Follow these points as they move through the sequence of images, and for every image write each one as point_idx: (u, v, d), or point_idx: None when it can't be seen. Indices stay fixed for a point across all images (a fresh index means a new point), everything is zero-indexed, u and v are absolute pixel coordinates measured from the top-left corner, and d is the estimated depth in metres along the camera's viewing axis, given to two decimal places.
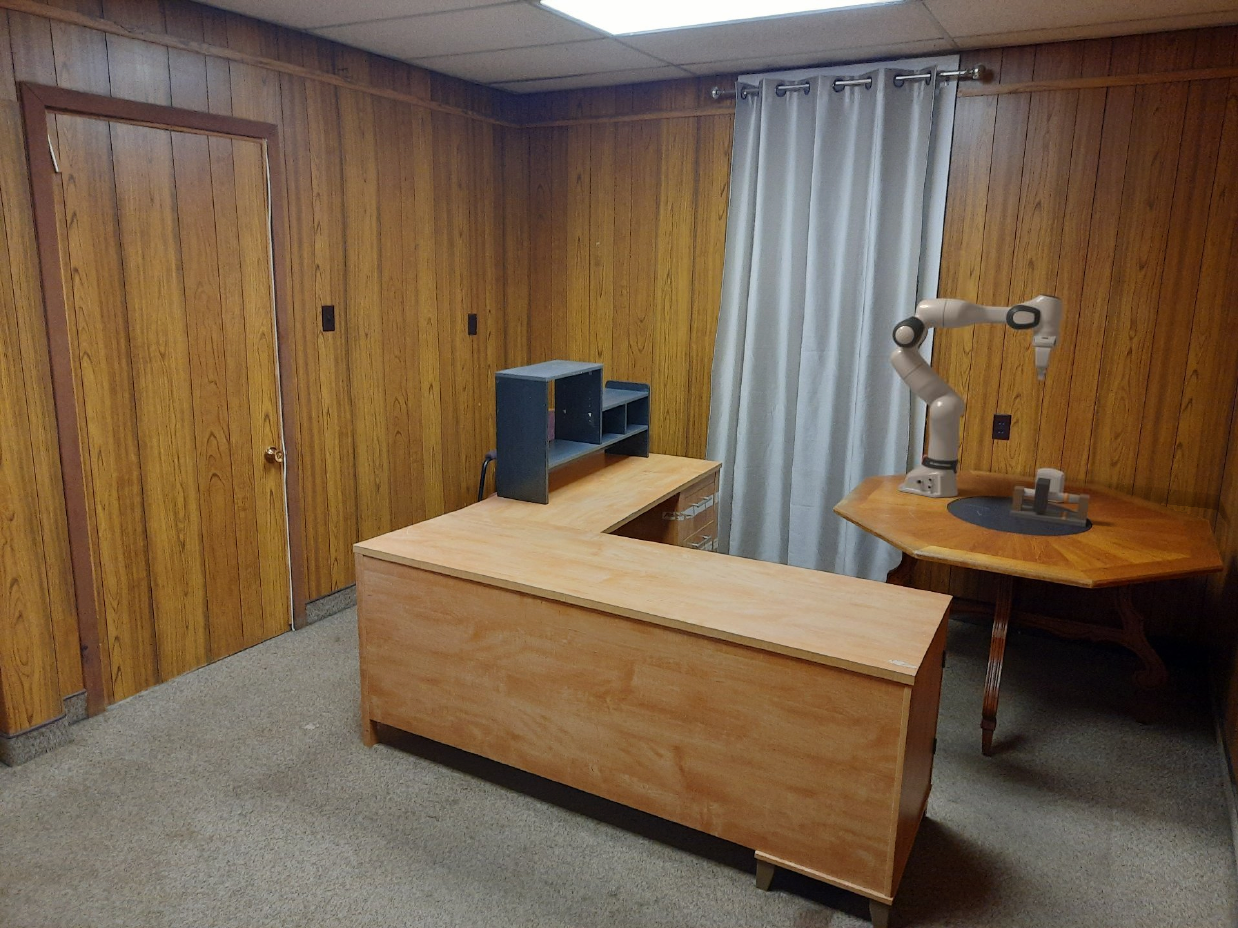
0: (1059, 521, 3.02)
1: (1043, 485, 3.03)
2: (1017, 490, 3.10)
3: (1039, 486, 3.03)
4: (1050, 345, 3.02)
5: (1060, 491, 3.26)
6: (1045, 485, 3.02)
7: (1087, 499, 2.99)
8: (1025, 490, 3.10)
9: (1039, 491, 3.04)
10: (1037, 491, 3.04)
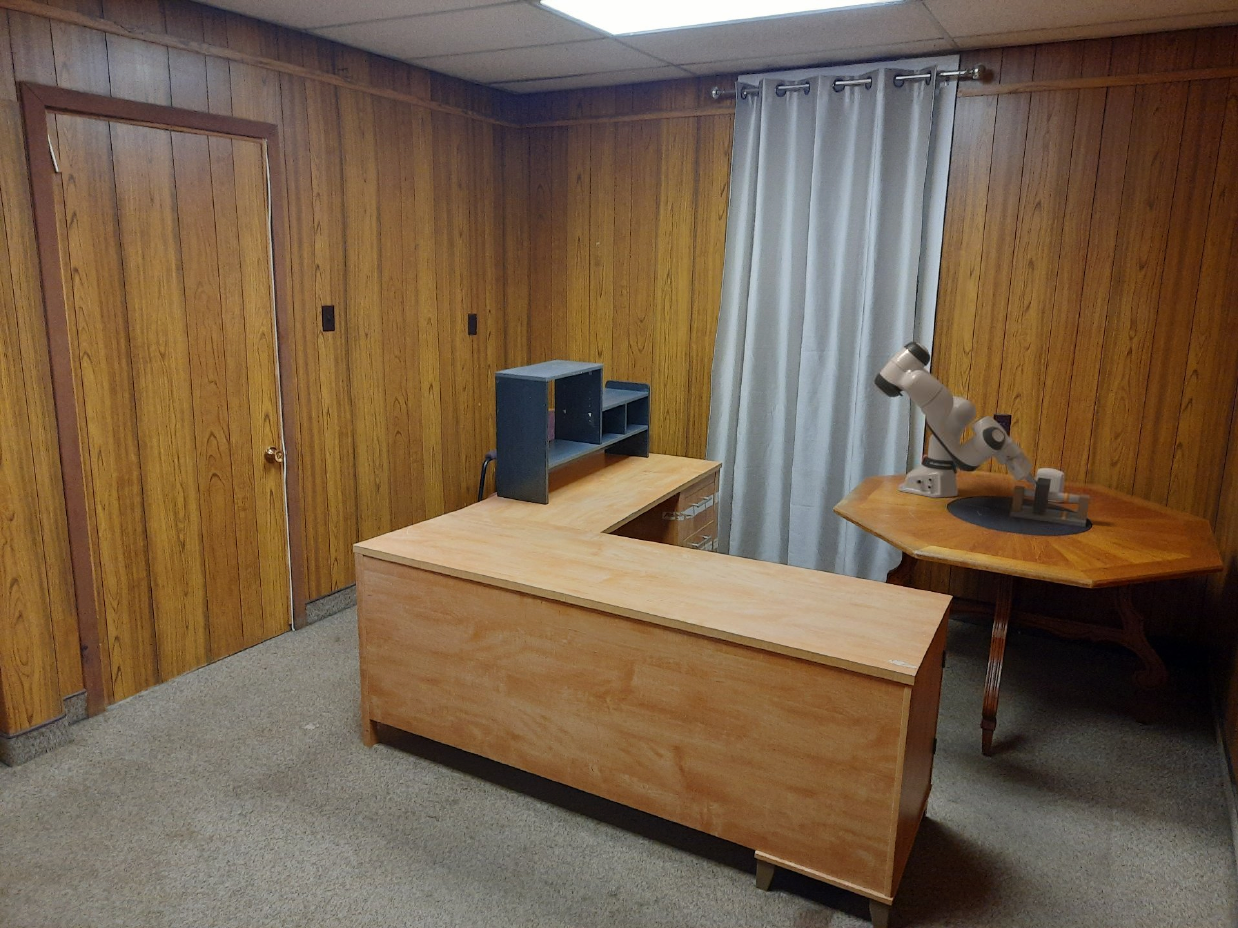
0: (1059, 521, 3.02)
1: (1043, 485, 3.03)
2: (1017, 490, 3.10)
3: (1039, 486, 3.03)
4: None
5: (1060, 491, 3.26)
6: (1045, 485, 3.02)
7: (1087, 499, 2.99)
8: (1025, 490, 3.10)
9: (1039, 491, 3.04)
10: (1037, 491, 3.04)
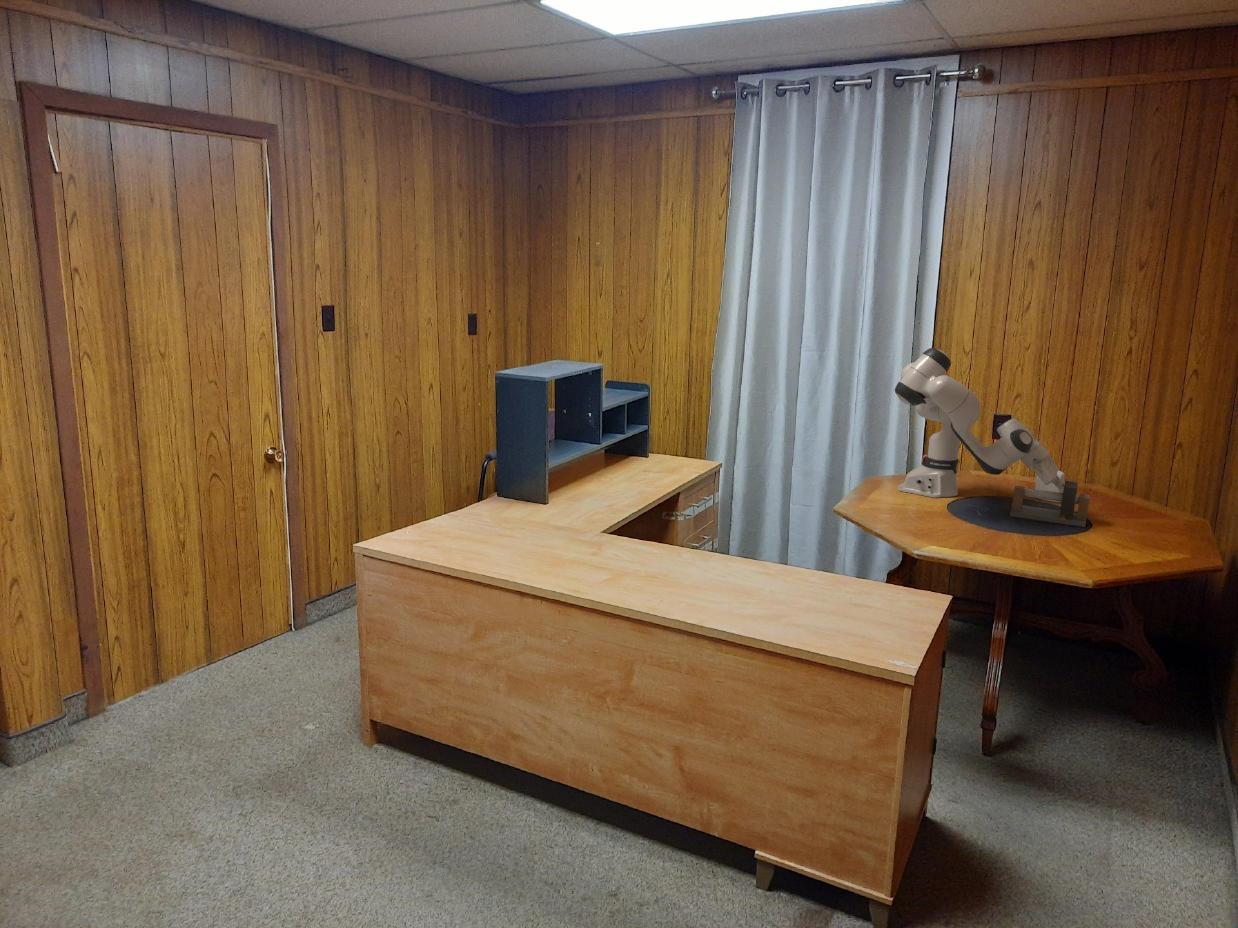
0: (1059, 521, 3.02)
1: (1071, 489, 2.99)
2: (1017, 490, 3.10)
3: (1067, 490, 2.99)
4: None
5: (1060, 491, 3.26)
6: (1073, 489, 2.98)
7: (1087, 499, 2.99)
8: (1025, 490, 3.10)
9: (1067, 495, 3.00)
10: (1065, 495, 3.00)
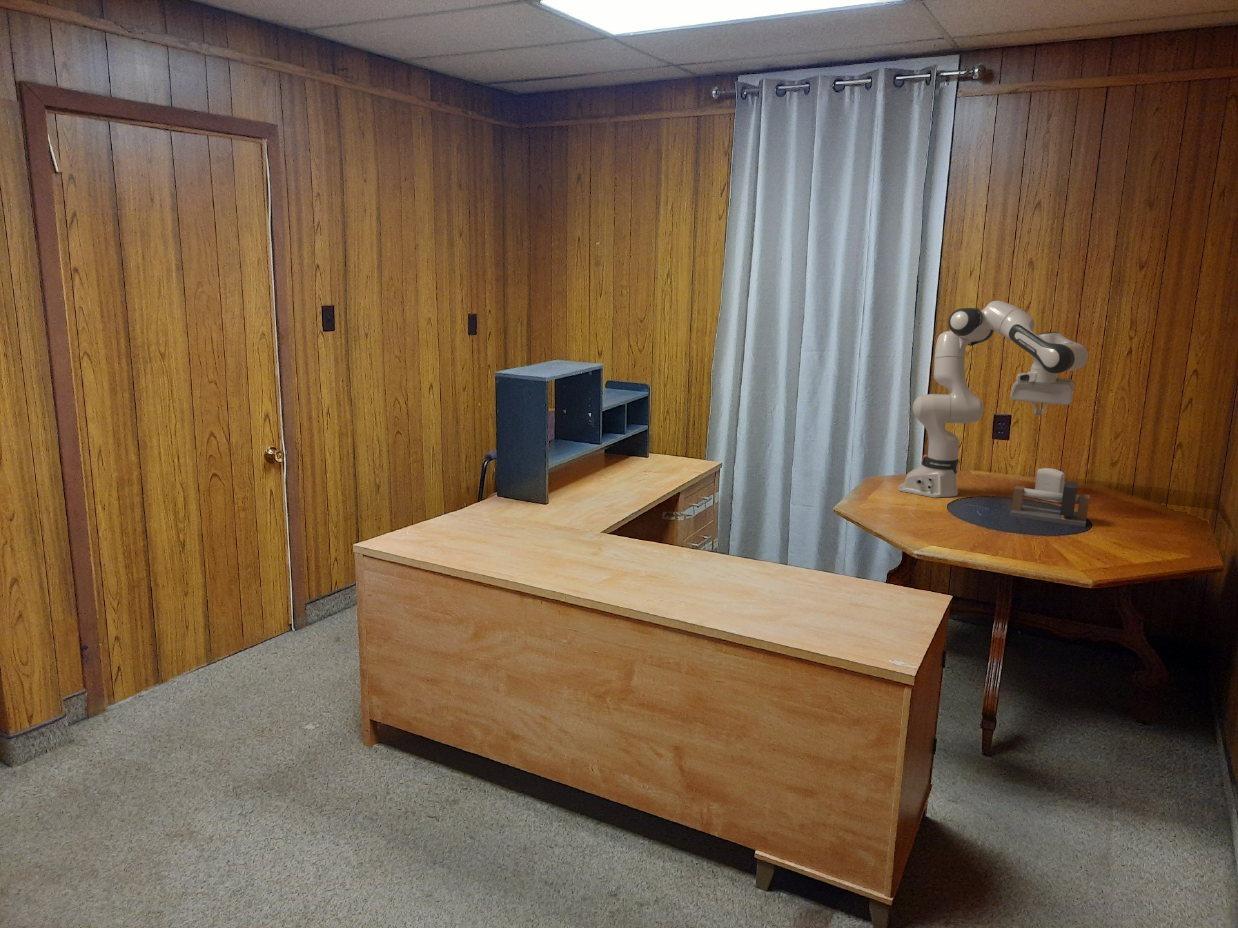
0: (1059, 521, 3.02)
1: (1071, 489, 2.99)
2: (1017, 490, 3.10)
3: (1067, 490, 2.99)
4: None
5: (1060, 491, 3.26)
6: (1073, 489, 2.98)
7: (1087, 499, 2.99)
8: (1025, 490, 3.10)
9: (1067, 495, 3.00)
10: (1065, 495, 3.00)
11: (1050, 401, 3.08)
